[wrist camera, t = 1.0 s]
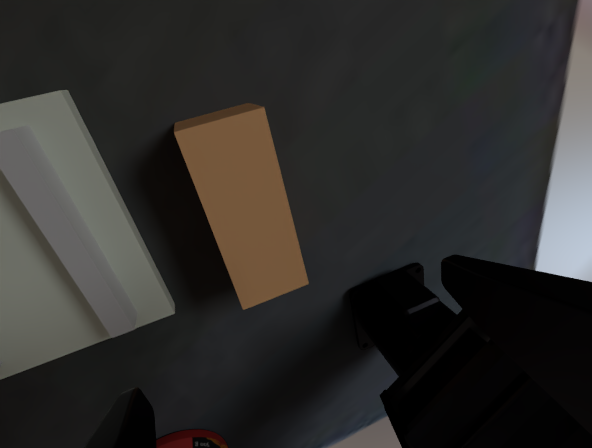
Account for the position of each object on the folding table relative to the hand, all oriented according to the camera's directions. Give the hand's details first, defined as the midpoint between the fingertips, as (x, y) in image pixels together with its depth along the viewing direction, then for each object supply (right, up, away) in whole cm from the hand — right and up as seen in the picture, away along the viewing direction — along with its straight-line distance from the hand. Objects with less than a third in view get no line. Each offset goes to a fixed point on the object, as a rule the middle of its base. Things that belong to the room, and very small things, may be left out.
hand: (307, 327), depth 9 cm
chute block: (-4, +5, +11) cm, 12 cm away
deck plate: (-15, +1, +8) cm, 17 cm away
